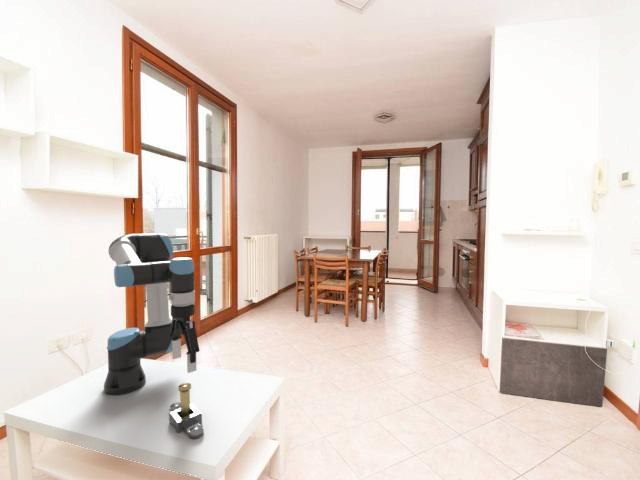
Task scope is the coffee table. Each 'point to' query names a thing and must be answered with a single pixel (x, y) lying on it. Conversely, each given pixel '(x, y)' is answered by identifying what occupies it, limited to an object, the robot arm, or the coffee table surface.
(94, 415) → the coffee table surface
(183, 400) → the pin
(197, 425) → the chain ends
